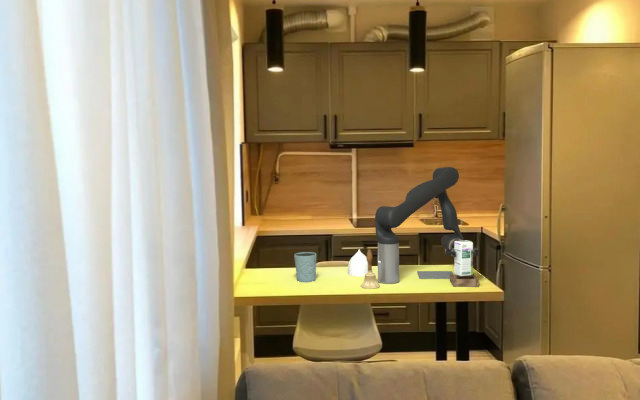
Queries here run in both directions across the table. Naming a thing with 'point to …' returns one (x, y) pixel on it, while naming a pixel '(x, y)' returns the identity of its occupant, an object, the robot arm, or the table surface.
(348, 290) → the table surface
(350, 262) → the teardrop
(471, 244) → the syrup box
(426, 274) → the grey mat
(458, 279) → the walnut collar
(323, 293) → the table surface
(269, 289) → the table surface
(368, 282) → the hand bell
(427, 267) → the table surface
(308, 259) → the teal tapered cup
